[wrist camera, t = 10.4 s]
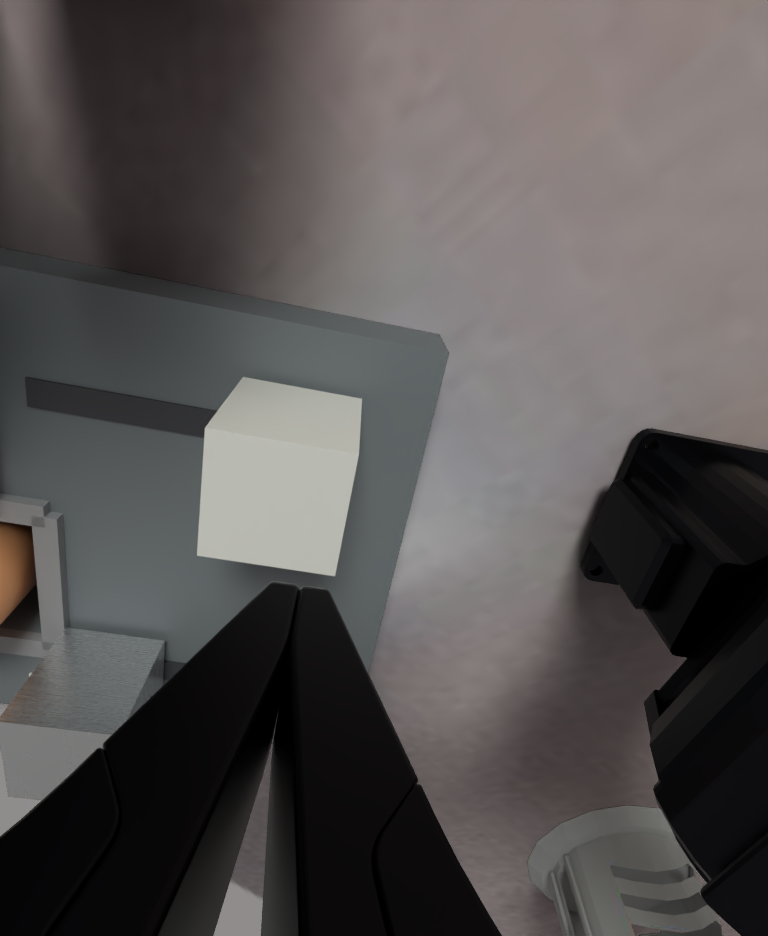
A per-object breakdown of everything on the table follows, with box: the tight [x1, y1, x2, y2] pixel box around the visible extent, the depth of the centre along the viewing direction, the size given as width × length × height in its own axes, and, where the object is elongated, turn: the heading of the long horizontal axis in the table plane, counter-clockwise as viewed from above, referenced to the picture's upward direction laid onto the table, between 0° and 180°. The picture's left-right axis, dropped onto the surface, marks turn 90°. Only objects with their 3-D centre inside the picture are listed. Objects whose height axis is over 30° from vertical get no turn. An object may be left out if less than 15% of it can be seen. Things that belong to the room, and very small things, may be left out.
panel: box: [0, 247, 449, 736], centre depth 20 cm, size 18×17×3 cm
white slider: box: [197, 377, 362, 576], centre depth 15 cm, size 4×4×4 cm
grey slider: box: [0, 627, 165, 800], centre depth 19 cm, size 4×4×4 cm
